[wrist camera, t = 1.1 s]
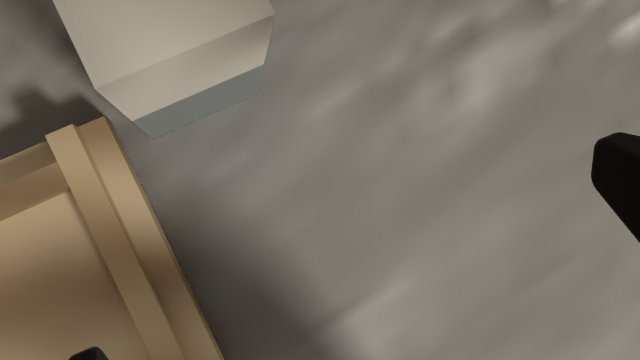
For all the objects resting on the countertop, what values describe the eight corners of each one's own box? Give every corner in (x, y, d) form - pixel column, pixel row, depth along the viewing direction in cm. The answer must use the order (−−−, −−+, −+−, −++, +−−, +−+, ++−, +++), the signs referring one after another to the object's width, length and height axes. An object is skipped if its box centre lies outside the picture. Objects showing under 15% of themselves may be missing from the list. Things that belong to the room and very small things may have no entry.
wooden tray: (231, 374, 23) (231, 389, 21) (-45, 516, 21) (-73, 548, 19) (110, 120, 23) (98, 112, 21) (-179, 244, 21) (-221, 248, 19)
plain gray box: (256, 93, 24) (275, 13, 14) (153, 139, 23) (95, 89, 13) (209, -8, 24) (194, -161, 14) (103, 35, 23) (7, -94, 13)
